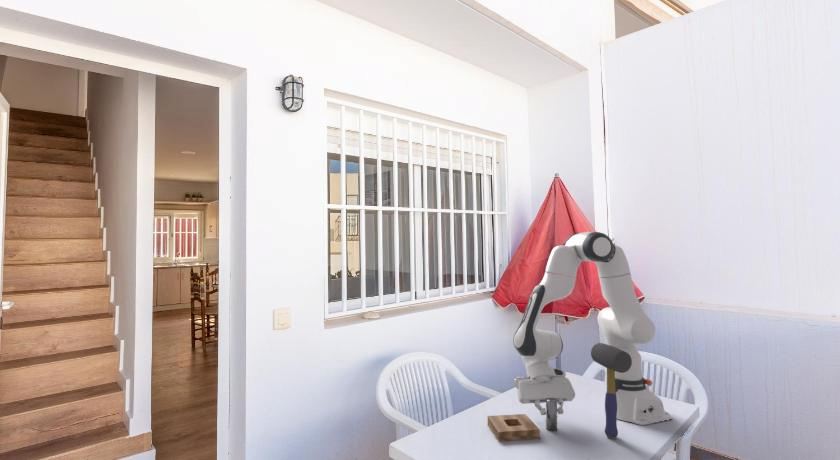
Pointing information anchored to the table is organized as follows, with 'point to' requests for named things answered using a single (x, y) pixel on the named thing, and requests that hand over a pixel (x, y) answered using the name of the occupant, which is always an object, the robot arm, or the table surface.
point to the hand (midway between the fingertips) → (552, 414)
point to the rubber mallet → (611, 379)
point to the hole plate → (513, 427)
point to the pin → (551, 414)
